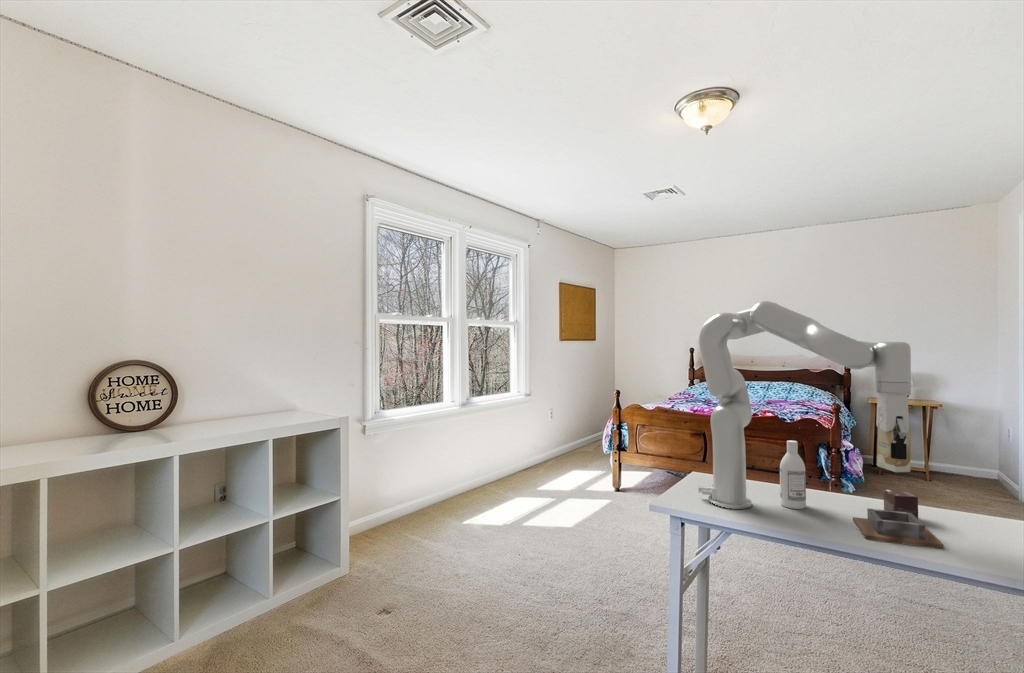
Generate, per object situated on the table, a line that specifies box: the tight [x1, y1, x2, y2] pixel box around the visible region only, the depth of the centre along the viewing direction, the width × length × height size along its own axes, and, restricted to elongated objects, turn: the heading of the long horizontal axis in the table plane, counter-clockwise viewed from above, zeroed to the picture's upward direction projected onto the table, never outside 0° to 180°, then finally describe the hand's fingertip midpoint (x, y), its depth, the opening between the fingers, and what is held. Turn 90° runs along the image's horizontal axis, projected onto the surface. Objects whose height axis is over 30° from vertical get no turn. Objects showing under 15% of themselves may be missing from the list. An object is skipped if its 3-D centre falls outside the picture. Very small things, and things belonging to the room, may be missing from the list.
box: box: [883, 489, 919, 520], centre depth 143 cm, size 6×6×7 cm
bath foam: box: [779, 439, 807, 510], centre depth 155 cm, size 7×7×20 cm
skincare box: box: [876, 422, 912, 473], centre depth 132 cm, size 6×4×12 cm
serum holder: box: [852, 507, 945, 549], centre depth 132 cm, size 16×14×4 cm
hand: (893, 454), depth 132 cm, fingers closed on skincare box, 7 cm apart
